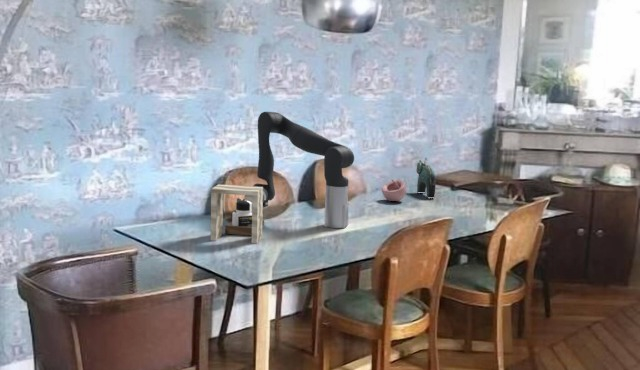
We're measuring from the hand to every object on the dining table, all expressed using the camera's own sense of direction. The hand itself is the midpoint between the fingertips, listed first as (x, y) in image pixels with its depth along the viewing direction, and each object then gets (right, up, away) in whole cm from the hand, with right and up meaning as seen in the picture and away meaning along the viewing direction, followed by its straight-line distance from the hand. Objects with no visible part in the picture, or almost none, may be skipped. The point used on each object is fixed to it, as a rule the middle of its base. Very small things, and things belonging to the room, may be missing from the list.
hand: (247, 206), depth 281 cm
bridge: (-2, -12, -17) cm, 21 cm away
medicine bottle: (-1, -10, -6) cm, 11 cm away
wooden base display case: (-1, -9, -3) cm, 10 cm away
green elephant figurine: (+85, +3, +84) cm, 119 cm away
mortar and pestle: (+66, 0, +66) cm, 93 cm away
